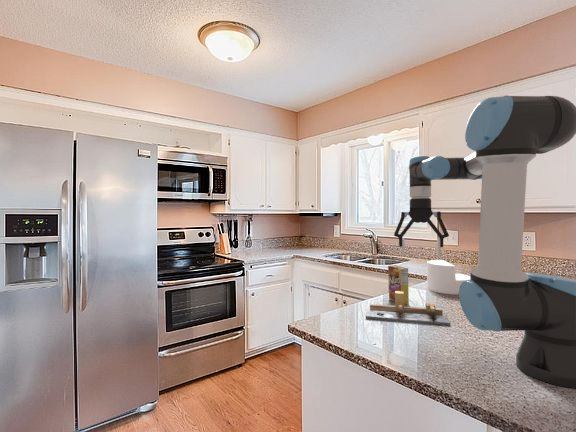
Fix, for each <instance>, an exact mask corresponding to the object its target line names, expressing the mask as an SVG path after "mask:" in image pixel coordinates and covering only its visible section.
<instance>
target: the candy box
mask: <svg viewBox="0 0 576 432" xmlns="http://www.w3.org/2000/svg"><path fill="white" fill-rule="evenodd" d="M387 268H388V269H387V270H388V300H389V299H390V300H389V301H391V300H392V302H394V303H395V291H403V292H404V304H405V305H409V304H410V300H409V296H410V295H409V268H407V267H403V266H399V265H397V264H394V265H388V266H387Z"/></svg>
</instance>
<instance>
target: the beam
mask: <svg viewBox="0 0 576 432" xmlns="http://www.w3.org/2000/svg"><path fill="white" fill-rule="evenodd" d="M436 306H437V305H435V303H429V302H428V303H427V302H425V307H424V306H423V307H422V306H421V307H420V306H410V305H409V306H407V305H404V313H416V314H430V315H432V317H434V315H443V316H444V314H443V313H444V311H443V309H442V308H438V307H436ZM369 310H375V311H389V312H396V307H395V304H377V303H370V304H369Z"/></svg>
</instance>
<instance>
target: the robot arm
mask: <svg viewBox="0 0 576 432" xmlns="http://www.w3.org/2000/svg"><path fill="white" fill-rule="evenodd" d="M467 120H468V121H467V123H466V127H465V134H464V138H465V139H464V140H465V143H466V146H467V147H468V148H469V149H470V150H471V151H475V152H473V153H471V154H470V155H468V156H465V157H444V156H441V155H437V156H431V157H430V156H428V155H419V156H418V155H417V156H413V157H410V158H409V166H408V171H409V174H408V175H409V198H410V199H409V211H401V212H400V213H401V214H400V219H399V221H398V224H397V226H396V229H395V231H394V234H393V236H394V237H396V238H398V246H399V247H400V248H401V256H403V257H404V256H405V254H406V253H405V251H406V250H405V237H404V236H405V234H406V233H407V232H408V230H410V228H411V227H412V225H413V224H420V223H422V224H425V223H426V224H428V225H429V226H430V227H431V229H432V230H433V231H434V232H435V234H436V235H437V238H436V256H437V257H441V248H444V239H446V238H448V237H449V236H450V234H449V231H448V230H447V227H446V225H445V224H444V221H443V219H442V214H441V212H442V211H432V198H431V197H432V181H435V180H437V181H442V180H443V181H444V180H449V181H450V180H471V181H472V180H474V181H476V180H481V191H480V210H479V211H480V213H479V214H480V216H479V217H480V218H479V232H478V233H479V235H478V239H479V240H478V259H477V265H476V266H474V267H473V268H472V269H470V275H469V276H470V280H466V281H464V282H462V284H461V285H460V288H459V294H458V297H459V303H460V307H461V309H462V312H463V314H464V316H465V317H466V319H467V321H468V322H469V323H470V324H471V325H472V326H473V327H474V328H475V329H477V330H480V331H491V332H492V331H493V332H495V333H496V332H498V333H499V332H504V331H505V332H506V331H507V332H508V331H509V332H510V331H511V332H512V331H515V332H516V331H517V332H518V331H524V335H523V337H522V340H521V343H520V345H519V348H518V350H517V352H516V355H515V360H516V361H515V365H516V367H517V368H518V369H519V370H520V371H521V372H522V373H524V374H526V375H527V376H530V377H532V378H533V379H536V380H538V381H542V382H545V383H547V384H551V385H555V386H561V387H565V388H569V389H576V279H572V278H568V277H561V276H557V275H552V274H545V273H536V272H525V271H523V269H522V262H523V260H522V259H523V257H522V256H523V242H524V241H523V239H524V226H525V224H524V223H525V209H526V208H525V206H526V205H525V204H526V191H527V190H526V189H527V172H528V170H527V169H528V164H529V163H530V162H531V161H532V160H533V159H535V158H536V156H537V155H541V154H546V153H549V152H550V151H551V152H552V151H554V150H556V149H559V148H560V147H561V148H562V146H564V145H566V144H568V143H569V142H570V141H571V140H572V139H573V138H574V137H575V135H576V105H575V104H574V103H573V102H572V101H570V100H569V99H566V98H565V97H563V96H562V97H561V96H558V95H540V96H539V95H502V96H494V97H493V96H491V97H488V98H485V99H484V100H482V101H480V102H479V103H478V104H477V105H476V106H475V108H474V109H473V111H472V112H471V114H470V116H469V117H468V119H467ZM408 216H409V218H410V220H409V222H408V223H407V224H406V226H405V227H404V229H403V230H402V231H401V227H402V225H403V223H404V220H405V219H406V218H407V217H408ZM432 216H434V217H435V218H436V220H437V221H438V222H437V223H438V224H439V227H440V229H441V231H442V232H441V231H440V230H439V229H438V228H437V226H436V225H435V224H434V223H433V221H432V220H431V218H432ZM400 231H401V232H400Z"/></svg>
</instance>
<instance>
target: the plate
mask: <svg viewBox="0 0 576 432" xmlns="http://www.w3.org/2000/svg"><path fill="white" fill-rule="evenodd" d="M365 314H366V315H365V320H373V321H374V320H376V321H385V320H386V321H387V322H399V323H408V324H409V323H413V324H423V325H436V326H446V327H447V326H449V327H450V326H451V322H450V319H449V317H448V316H447V315H444V314H443V315H434V317H432V315H430V314H416V313H402V312H401V315H399V312H389V311H375V310H370V309H366V313H365ZM386 321H385V322H386Z"/></svg>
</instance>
